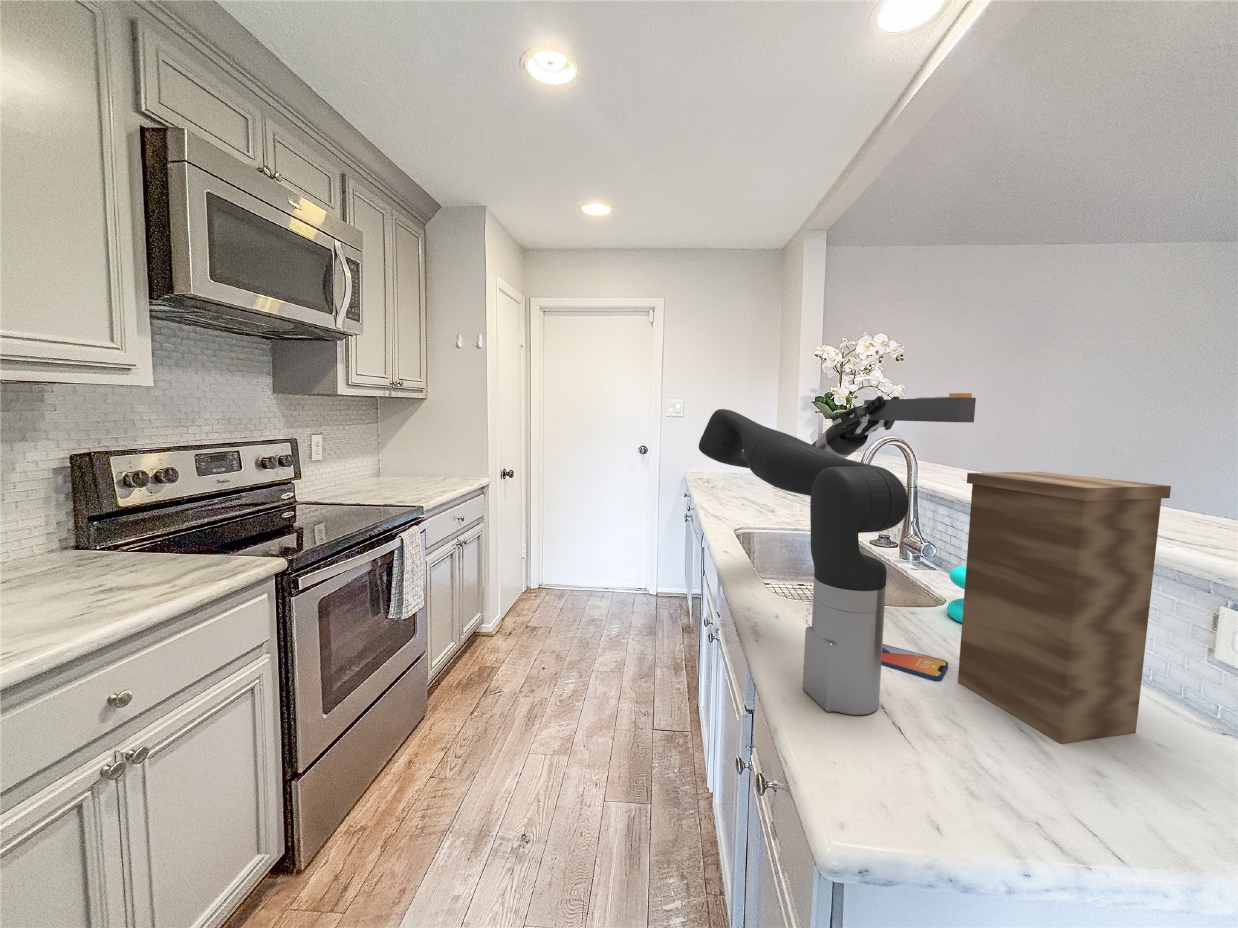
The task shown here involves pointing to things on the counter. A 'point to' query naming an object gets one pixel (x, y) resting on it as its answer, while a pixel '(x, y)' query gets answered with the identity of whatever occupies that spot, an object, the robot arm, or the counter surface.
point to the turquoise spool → (956, 605)
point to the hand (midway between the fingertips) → (890, 400)
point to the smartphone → (914, 663)
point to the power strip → (928, 409)
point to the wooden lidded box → (1059, 599)
